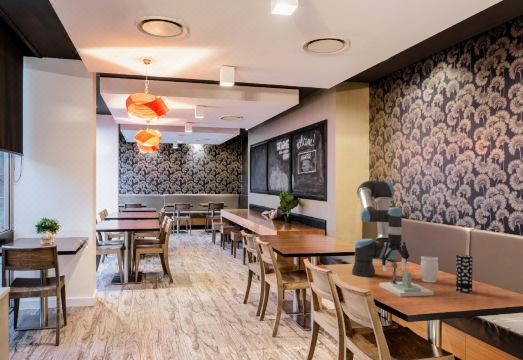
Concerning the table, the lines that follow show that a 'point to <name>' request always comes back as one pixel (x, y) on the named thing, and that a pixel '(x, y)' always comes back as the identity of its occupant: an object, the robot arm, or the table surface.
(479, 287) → the table surface
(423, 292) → the lock base
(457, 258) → the white-spotted black cylinder
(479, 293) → the table surface
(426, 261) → the jar
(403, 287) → the cover
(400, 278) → the grey angled block piece
